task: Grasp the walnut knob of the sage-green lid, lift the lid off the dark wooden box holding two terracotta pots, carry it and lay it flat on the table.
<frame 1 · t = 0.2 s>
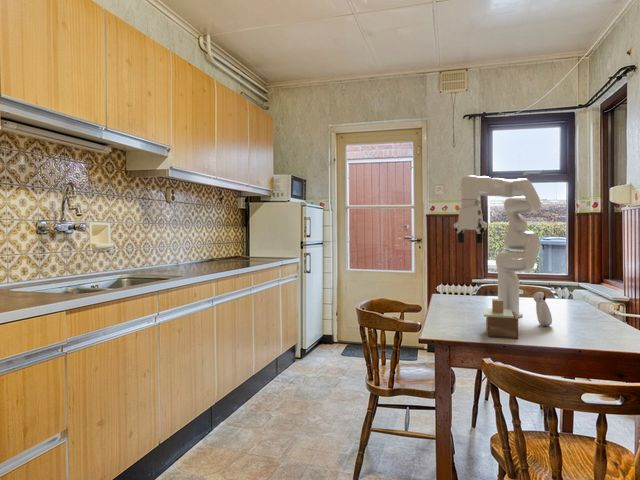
hand: (469, 242, 189), 37 cm above the table, tool pointing down, fingers open, 9 cm apart
toy: (542, 326, 188), on the table
box: (501, 333, 175), on the table
lid: (497, 313, 176), point 8 cm above the table, touching box
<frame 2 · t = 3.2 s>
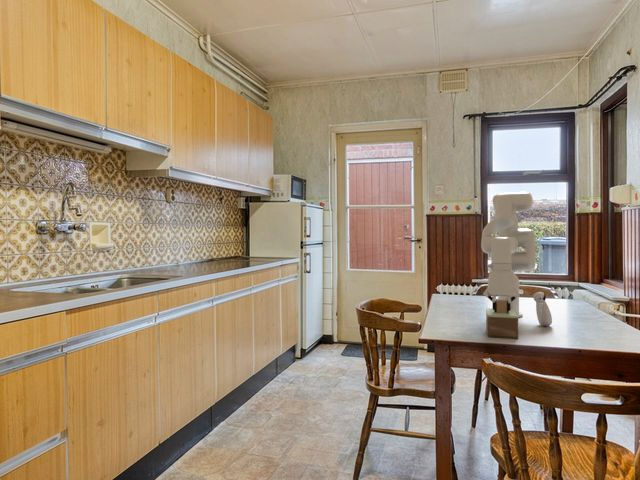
hand: (501, 311, 175), 9 cm above the table, tool pointing down, fingers closed on lid, 4 cm apart
lid: (501, 314, 175), point 8 cm above the table, touching box, gripper
everything else where it was.
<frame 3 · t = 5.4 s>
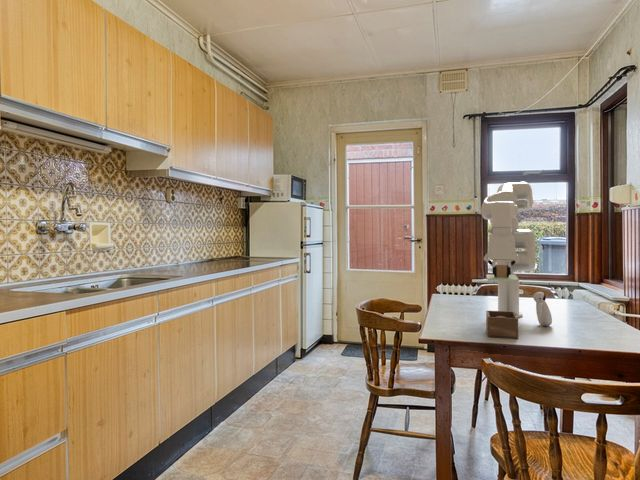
hand: (501, 276, 175), 24 cm above the table, tool pointing down, fingers closed on lid, 4 cm apart
lid: (501, 278, 175), point 22 cm above the table, touching gripper
everything else where it was.
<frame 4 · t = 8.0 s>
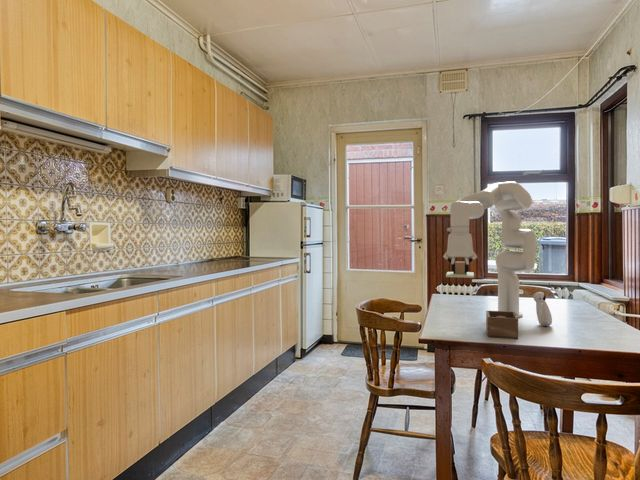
hand: (460, 273, 182), 24 cm above the table, tool pointing down, fingers closed on lid, 4 cm apart
lid: (460, 275, 183), point 23 cm above the table, touching gripper
everything else where it was.
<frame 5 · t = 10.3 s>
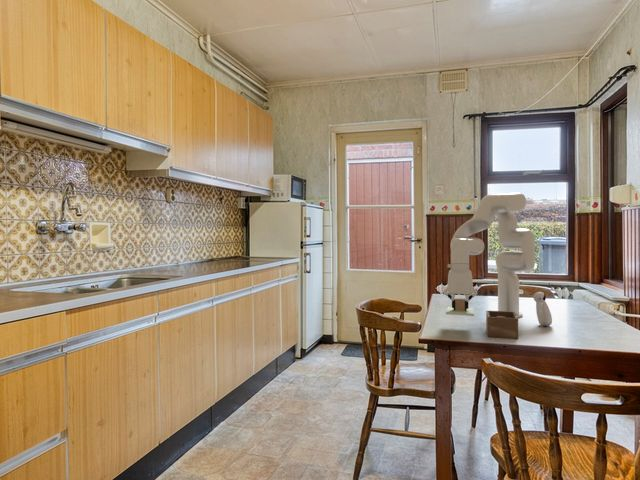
hand: (460, 309, 183), 9 cm above the table, tool pointing down, fingers closed on lid, 4 cm apart
lid: (460, 312, 183), point 8 cm above the table, touching gripper
everything else where it was.
when the fingers open (3 cm above the table, at t = 12.4 s): lid drops 2 cm, on the table.
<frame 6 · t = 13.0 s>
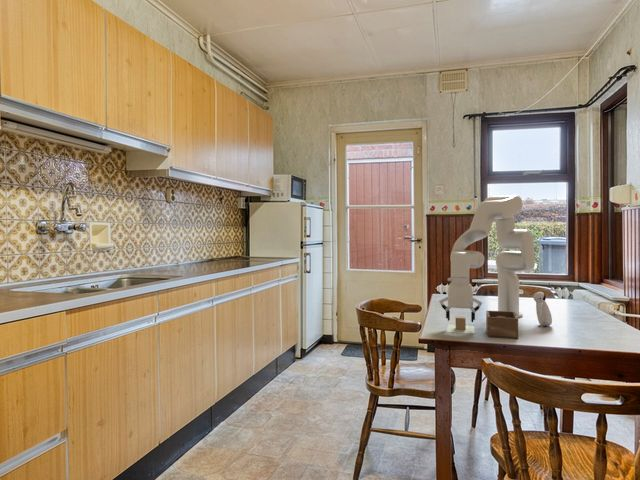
hand: (460, 320, 183), 4 cm above the table, tool pointing down, fingers open, 9 cm apart
lid: (460, 330, 184), on the table
everything else where it was.
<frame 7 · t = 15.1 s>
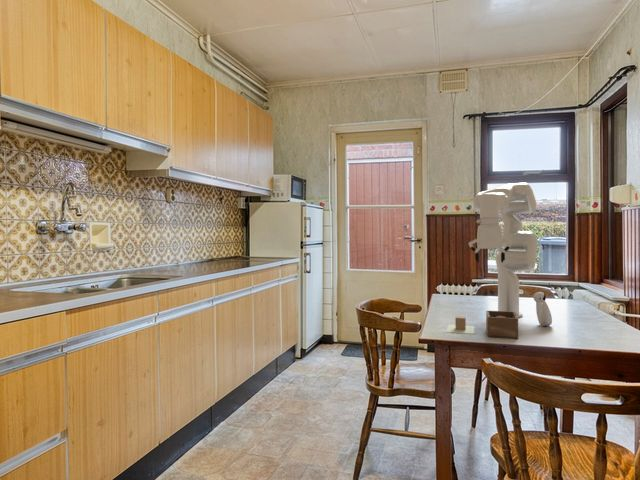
hand: (490, 262, 184), 29 cm above the table, tool pointing down, fingers open, 9 cm apart
nothing on the table moved.
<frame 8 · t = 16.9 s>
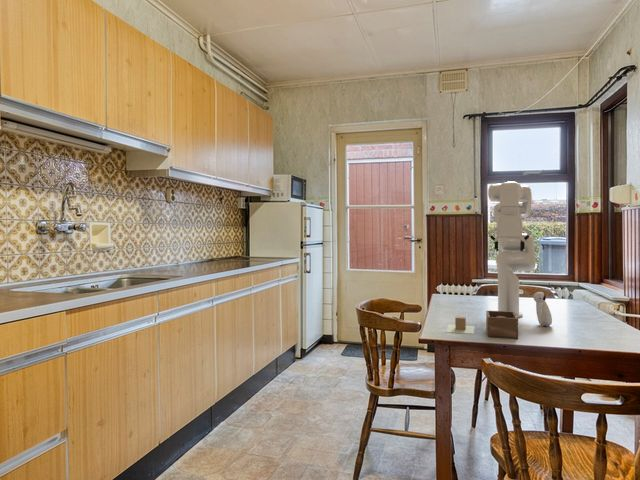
hand: (509, 250, 184), 33 cm above the table, tool pointing down, fingers open, 9 cm apart
nothing on the table moved.
at the end: lid inside the target area (0.7 cm from its centre), on the table; lid tilted 0°; the gripper is holding nothing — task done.
